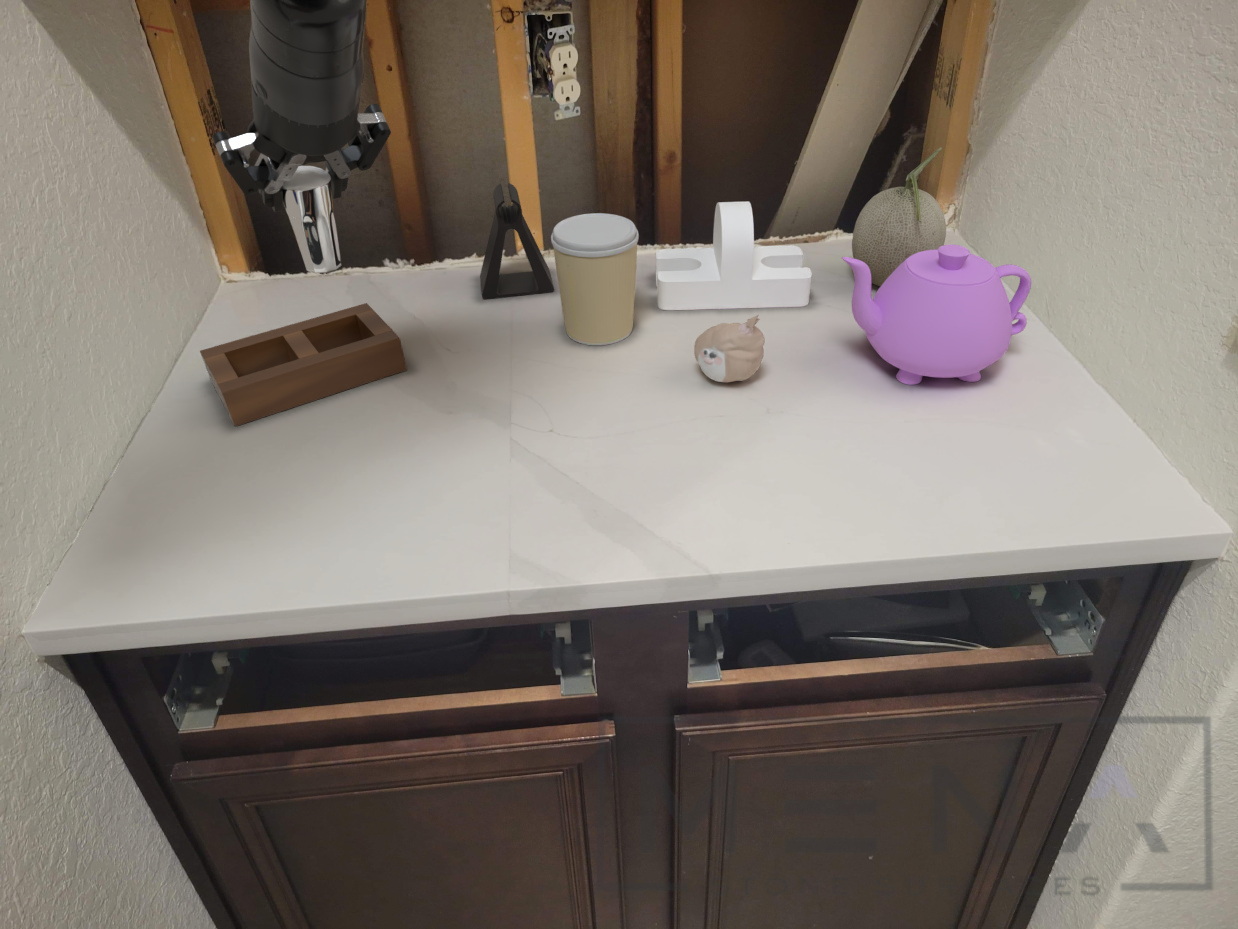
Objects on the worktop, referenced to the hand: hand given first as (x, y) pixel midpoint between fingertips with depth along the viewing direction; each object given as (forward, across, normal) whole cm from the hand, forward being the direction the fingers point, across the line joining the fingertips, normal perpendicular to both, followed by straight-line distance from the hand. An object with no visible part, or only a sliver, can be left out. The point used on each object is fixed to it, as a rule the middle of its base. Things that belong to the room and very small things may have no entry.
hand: (303, 195), depth 74 cm
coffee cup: (+10, -27, +18) cm, 34 cm away
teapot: (-8, -51, +37) cm, 63 cm away
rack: (+17, +3, +11) cm, 21 cm away
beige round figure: (-1, -32, +30) cm, 44 cm away
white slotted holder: (+9, -46, +19) cm, 50 cm away
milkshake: (+3, 0, +6) cm, 7 cm away
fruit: (+2, -62, +26) cm, 68 cm away
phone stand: (+22, -25, +7) cm, 34 cm away
